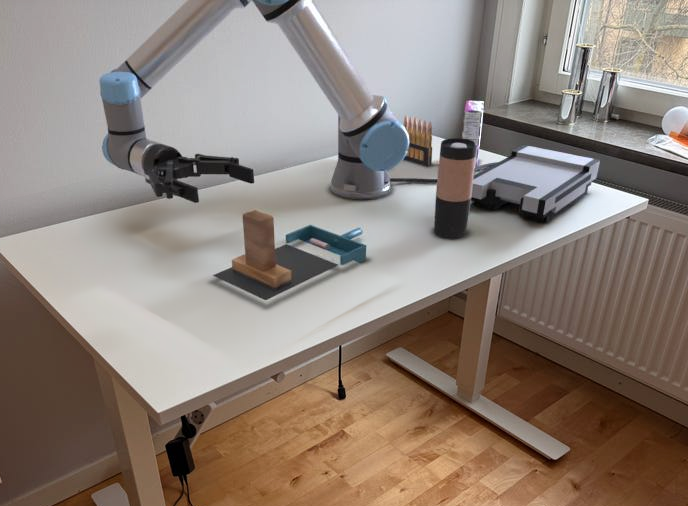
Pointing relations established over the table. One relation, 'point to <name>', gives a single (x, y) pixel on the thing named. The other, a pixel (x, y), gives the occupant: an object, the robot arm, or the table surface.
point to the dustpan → (333, 242)
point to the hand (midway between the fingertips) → (225, 185)
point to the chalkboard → (286, 257)
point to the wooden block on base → (260, 252)
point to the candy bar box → (473, 124)
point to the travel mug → (454, 187)
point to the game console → (535, 182)
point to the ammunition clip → (419, 142)
